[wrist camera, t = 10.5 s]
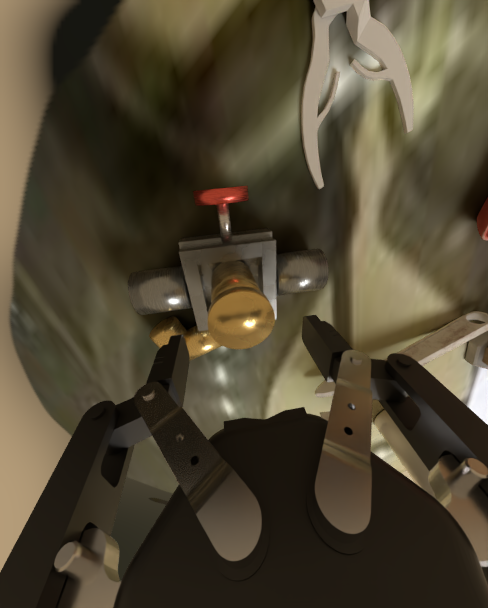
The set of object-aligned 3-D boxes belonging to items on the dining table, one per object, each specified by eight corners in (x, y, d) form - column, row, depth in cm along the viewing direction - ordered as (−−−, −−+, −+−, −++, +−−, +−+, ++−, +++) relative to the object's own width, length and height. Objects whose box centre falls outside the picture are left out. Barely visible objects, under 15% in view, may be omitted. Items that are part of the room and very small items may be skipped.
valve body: (316, 179, 20) (347, 175, 15) (306, 296, 26) (326, 318, 22) (114, 199, 18) (82, 202, 14) (157, 318, 25) (145, 346, 20)
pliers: (321, 190, 19) (241, -64, 12) (314, 190, 20) (238, -38, 13) (424, 125, 18) (405, -212, 10) (408, 129, 19) (382, -165, 12)
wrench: (454, 309, 35) (304, 391, 35) (455, 301, 34) (301, 385, 34) (519, 335, 28) (333, 437, 28) (523, 326, 27) (330, 432, 27)
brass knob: (253, 254, 20) (274, 287, 13) (256, 297, 23) (275, 343, 16) (204, 260, 20) (201, 298, 13) (213, 303, 22) (213, 353, 16)
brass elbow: (223, 333, 27) (201, 301, 24) (224, 351, 24) (200, 317, 21) (179, 353, 28) (153, 324, 25) (175, 373, 25) (145, 343, 22)
